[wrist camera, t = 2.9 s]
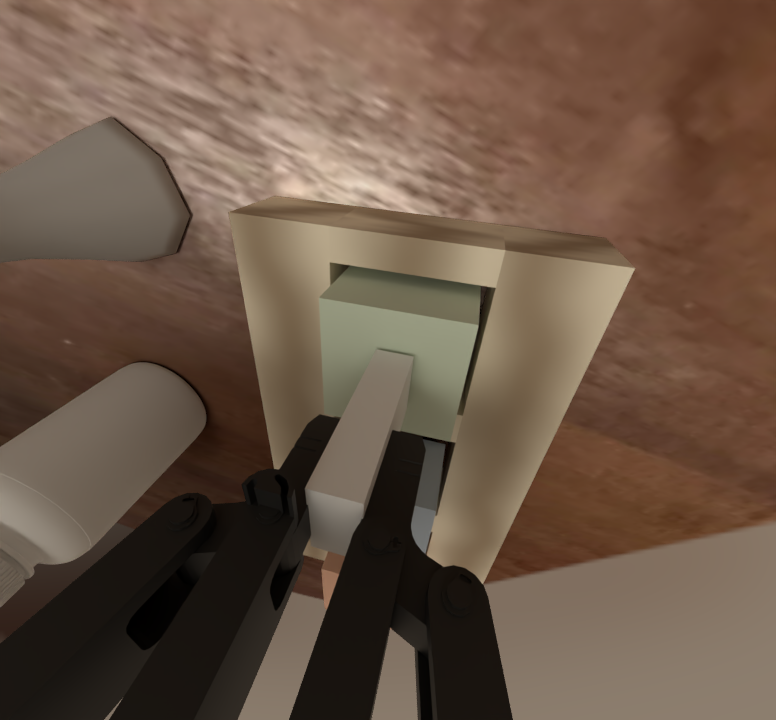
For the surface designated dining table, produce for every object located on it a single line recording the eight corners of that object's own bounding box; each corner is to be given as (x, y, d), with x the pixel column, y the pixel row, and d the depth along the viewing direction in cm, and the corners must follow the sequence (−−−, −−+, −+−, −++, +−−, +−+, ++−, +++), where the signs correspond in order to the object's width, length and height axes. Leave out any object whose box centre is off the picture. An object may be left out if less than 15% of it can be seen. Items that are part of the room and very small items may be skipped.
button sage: (352, 364, 20) (324, 413, 17) (353, 262, 17) (319, 297, 13) (457, 385, 19) (450, 441, 16) (481, 281, 16) (478, 325, 13)
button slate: (343, 484, 24) (319, 544, 21) (343, 421, 21) (314, 480, 17) (430, 506, 23) (420, 572, 20) (445, 444, 20) (436, 511, 16)
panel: (307, 509, 34) (288, 550, 31) (274, 196, 18) (228, 212, 15) (474, 555, 32) (473, 604, 29) (605, 238, 16) (635, 268, 13)
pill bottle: (162, 346, 26) (-114, 536, 14) (228, 424, 30) (49, 631, 18) (104, 371, 30) (-159, 542, 18) (169, 439, 33) (-15, 621, 21)
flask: (214, 220, 20) (25, 287, 12) (149, 278, 23) (-32, 362, 15) (108, 85, 17) (-226, 53, 9) (53, 173, 21) (-229, 206, 13)
